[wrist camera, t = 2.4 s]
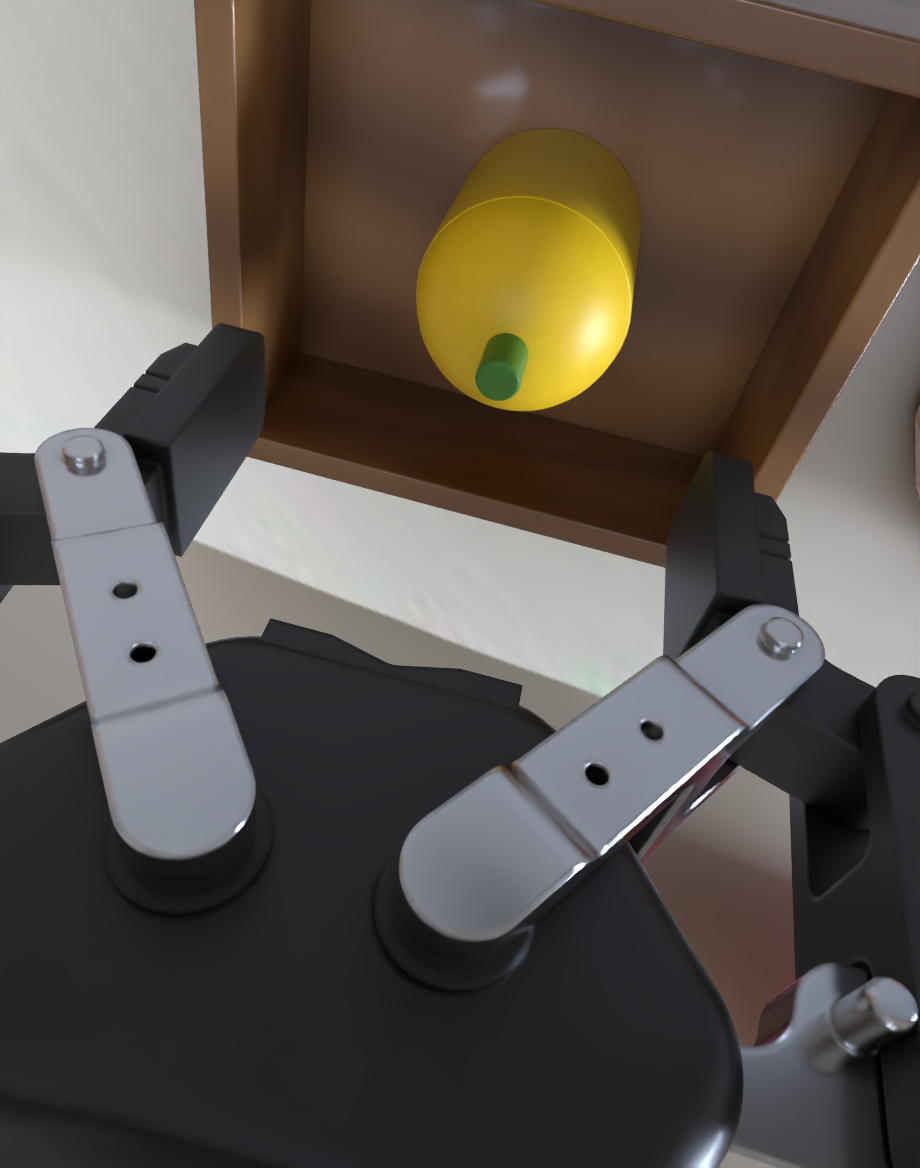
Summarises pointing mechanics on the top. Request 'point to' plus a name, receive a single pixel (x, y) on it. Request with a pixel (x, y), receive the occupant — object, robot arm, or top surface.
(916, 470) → the bowl
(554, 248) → the pepper
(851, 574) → the top surface
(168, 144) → the top surface
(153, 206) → the top surface
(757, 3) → the wooden tray
